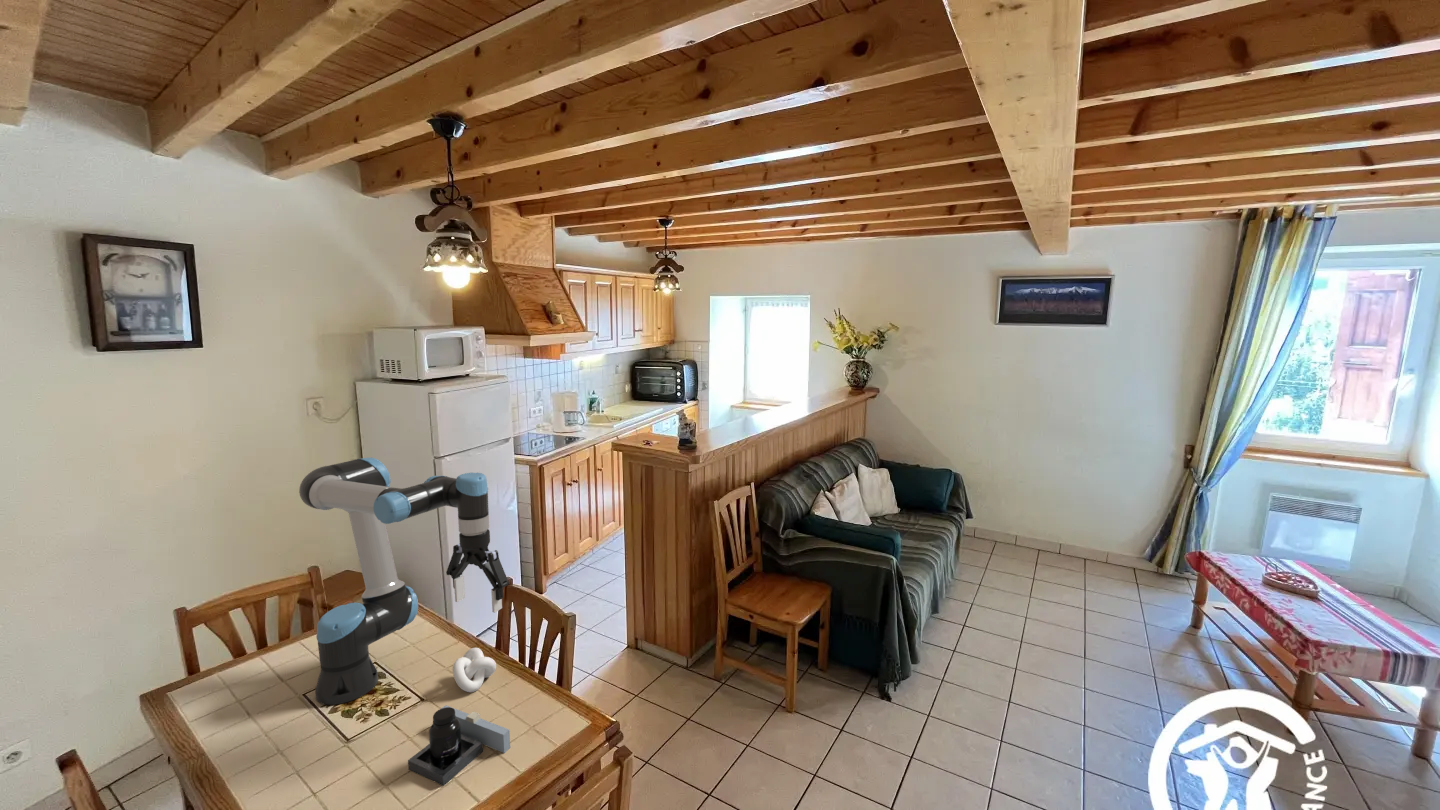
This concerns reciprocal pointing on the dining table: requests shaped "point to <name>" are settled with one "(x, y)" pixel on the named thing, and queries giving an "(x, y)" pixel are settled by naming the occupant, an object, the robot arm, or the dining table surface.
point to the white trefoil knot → (472, 669)
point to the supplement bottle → (444, 738)
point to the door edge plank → (483, 730)
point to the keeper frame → (444, 775)
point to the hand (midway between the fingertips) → (478, 605)
